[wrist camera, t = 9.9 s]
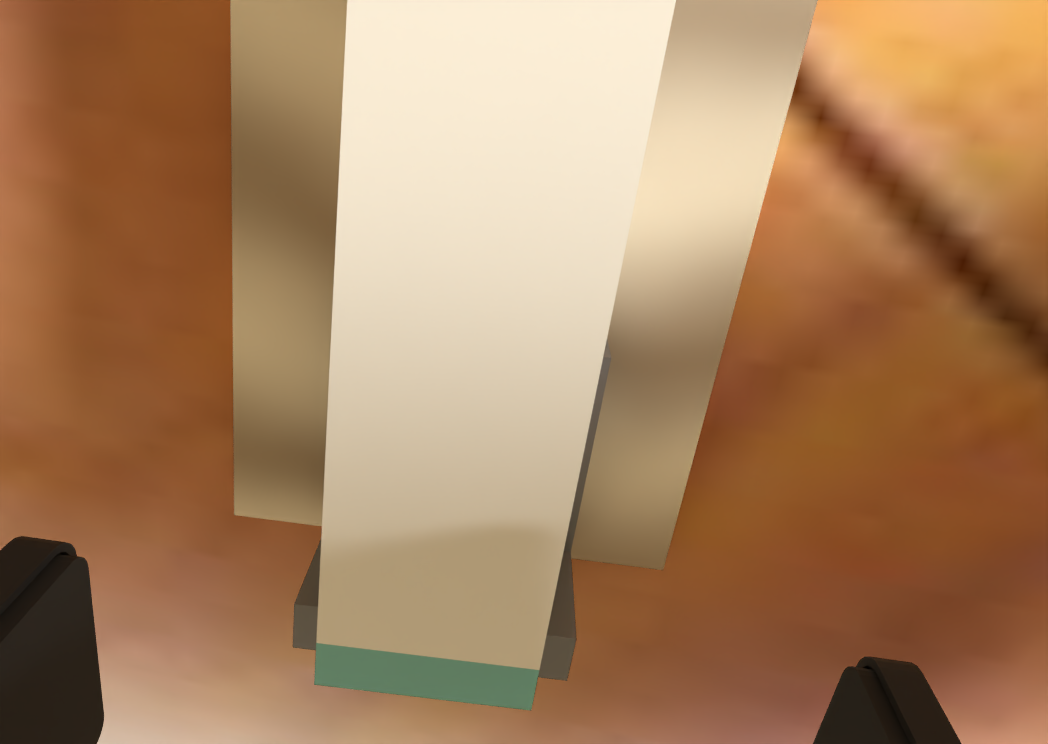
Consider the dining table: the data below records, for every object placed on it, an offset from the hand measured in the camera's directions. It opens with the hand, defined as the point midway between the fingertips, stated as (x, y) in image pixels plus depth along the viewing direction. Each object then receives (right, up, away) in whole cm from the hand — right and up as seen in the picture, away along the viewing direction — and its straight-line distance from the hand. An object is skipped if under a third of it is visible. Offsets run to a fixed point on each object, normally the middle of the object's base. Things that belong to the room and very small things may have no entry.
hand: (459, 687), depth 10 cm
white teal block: (0, +8, +8) cm, 11 cm away
